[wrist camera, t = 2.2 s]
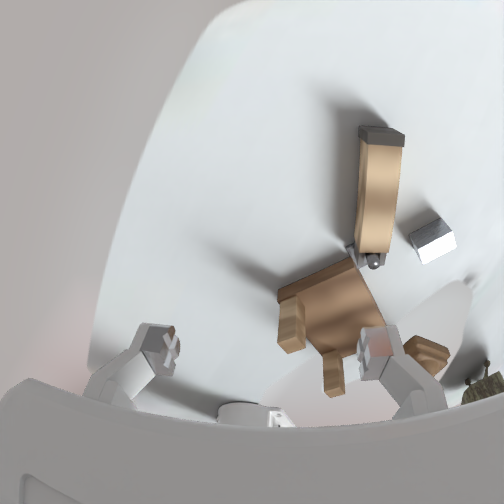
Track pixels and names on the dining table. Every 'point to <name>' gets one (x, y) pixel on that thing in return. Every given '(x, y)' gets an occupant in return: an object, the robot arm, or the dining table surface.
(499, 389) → the tabletop clock
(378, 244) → the hinged leg
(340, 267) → the stool seat
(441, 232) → the block
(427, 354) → the candle holder
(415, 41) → the dining table surface
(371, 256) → the hinge bracket
